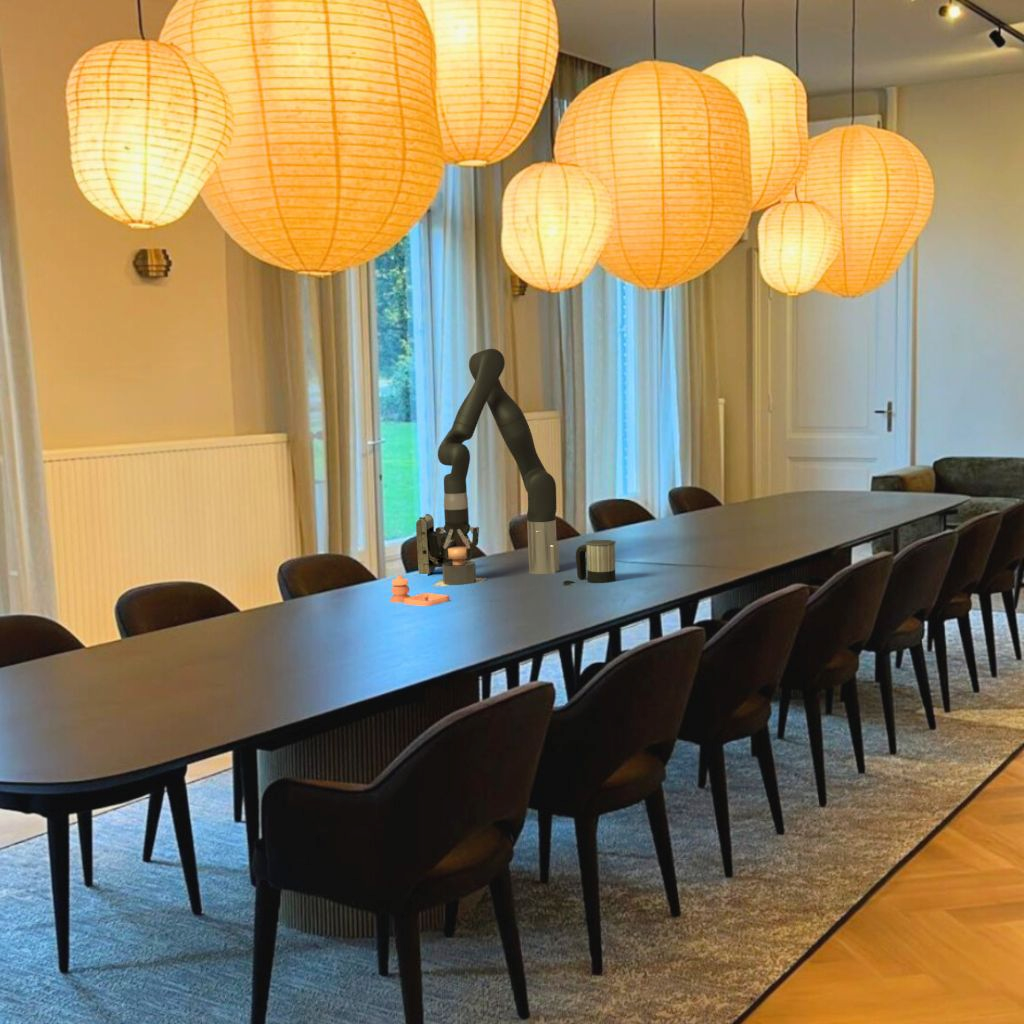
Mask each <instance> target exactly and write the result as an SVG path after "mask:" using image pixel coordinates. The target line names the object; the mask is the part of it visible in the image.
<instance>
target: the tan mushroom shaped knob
mask: <svg viewBox="0 0 1024 1024" xmlns="http://www.w3.org/2000/svg"><path fill="white" fill-rule="evenodd" d="M466 549H467V547H466V546H456V547H450V548H448V558H449V559H452V563H453V565H462V564H465V559H466V558H467V554H466Z"/></svg>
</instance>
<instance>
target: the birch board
mask: <svg viewBox="0 0 1024 1024" xmlns="http://www.w3.org/2000/svg"><path fill="white" fill-rule="evenodd" d="M487 580H488V578H487V577H476V582H474V583H473V584H475V583H481V582H485V581H487ZM433 585H435V586H433ZM438 585H441V586H440V587H449V586H451V585H447V584H444V583H443V579H441V580H439V581H437V582H436V583H434V584H432V585H431V587H439V586H438Z"/></svg>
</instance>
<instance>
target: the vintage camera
mask: <svg viewBox="0 0 1024 1024" xmlns="http://www.w3.org/2000/svg"><path fill="white" fill-rule="evenodd" d="M434 524H435V523H434V517H433V516H432V515H431V514H430V513H426V514H425V515H424V516H423V517H419V518H418V519H417V521H416V522H415V532H416V533H415V534H416V550H417V551H416V552H417V563H418V564H417V565H418V574H419V575H420V574H429V575H431V574H432V573H433V572H435V570H436V568H442V564H443V563H445V562H450V561H452V559H450V560H446V558H445V554H444V548H443V547H439V546H438V542H437V536H436V531H435V525H434ZM447 536H448V535H447V533H446V532H444V533H443V540H444V543H445V541H446V538H447ZM457 540H458V539H454V540H452V542H451V544H450V546H449V548H450V547H457V542H458V541H457ZM465 561H470V560H467V558H465ZM431 572H432V573H431ZM430 573H431V574H430Z"/></svg>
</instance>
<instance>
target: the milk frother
mask: <svg viewBox="0 0 1024 1024" xmlns="http://www.w3.org/2000/svg"><path fill="white" fill-rule="evenodd" d="M616 543H617V541H616V540H612V539H591V540H588V541H585V544H582V545H580V546H578V547H577V549H576V550H575V561H576V562H575V563H576V574H577V578H578V579H579V580H584V579H587V581H586V582H587V583H590V584H608V583H613V582H616ZM575 583H577V582H576V581H573V580H564V581H563V583H562V586H564V587H566V586H571V585H573V584H575Z"/></svg>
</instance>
